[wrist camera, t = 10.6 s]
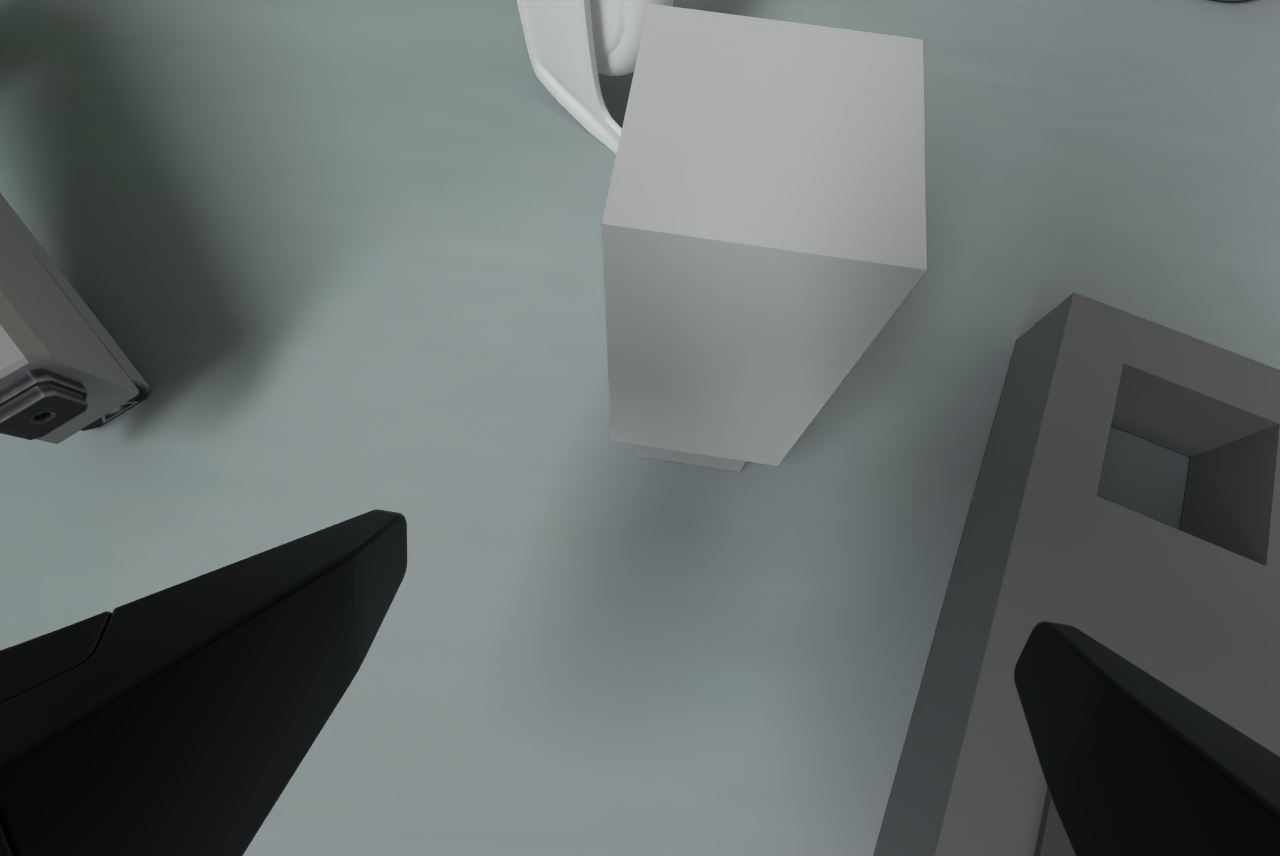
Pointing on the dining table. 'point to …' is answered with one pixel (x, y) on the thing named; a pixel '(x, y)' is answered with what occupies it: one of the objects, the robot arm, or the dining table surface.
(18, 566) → the dining table surface
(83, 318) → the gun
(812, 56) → the plain gray block
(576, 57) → the headset
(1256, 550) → the power strip
